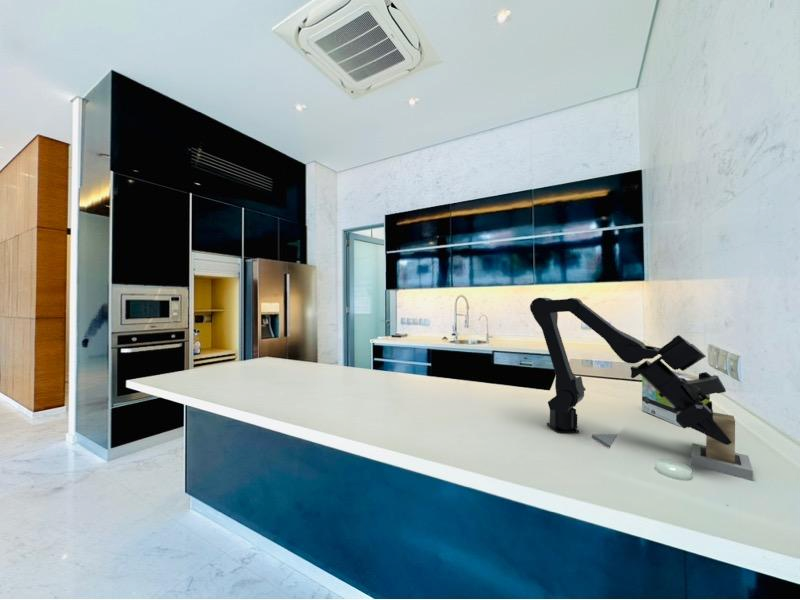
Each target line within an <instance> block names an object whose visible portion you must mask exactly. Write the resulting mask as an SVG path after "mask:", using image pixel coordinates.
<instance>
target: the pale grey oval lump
mask: <svg viewBox="0 0 800 600" xmlns="http://www.w3.org/2000/svg"><path fill="white" fill-rule="evenodd" d="M654 461H655V470H656V472H657V473H659V474H661V475H663V476H665V477H668V478H671V479H674V480H679V481H690V480H692V473H693V470H692V468H691V467H689V466H688V465H686V464H684V463H682V462H679V461H677V460H674V459H673V460H672V459H668V458H657V459H656V460H654Z"/></svg>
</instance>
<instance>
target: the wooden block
mask: <svg viewBox="0 0 800 600" xmlns="http://www.w3.org/2000/svg"><path fill="white" fill-rule="evenodd" d="M713 420H714V421H715V422H716V424H717V425H718V426H719V427H720V428H721V430H722V431H723V432H724V433H725V434H726V436H727V437H728V438H729V439H730V441H731V443H730V444H728V445H726V444H724V443H722V442H720V441H718V440H716V439H714V438H712V437H710V436H708V435H705V436H706V437H705V439H706V441H705V442H706V443H705V446H706V457H707V458H711V459H716V460H720V461H724V462H728V463H732V464H735V453H736V419H735V416H734V415H733V414H732V415H731V414H725V413H720V412H714V411H713Z"/></svg>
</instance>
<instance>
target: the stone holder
mask: <svg viewBox="0 0 800 600" xmlns="http://www.w3.org/2000/svg"><path fill="white" fill-rule="evenodd" d="M691 445H692V446H691V455H690V459H691V460H690V461H691V462H690V463H691V466H695V467H696V468H697V467H698V468H700V469H701V468H702V469H704V470H708V471H714V472H717V473H721V474H724V475H729V476H732V477H736V478H741V479H743V480H746V481H747V480H748V481H754V470H753V467H752V463H751V461H750V458H749V457H750V456H749V455H748V454H742V453H739V452H735V464H732V463H728V462H724V461H720V460H716V459H711V458H707V457H706V445H703V444H699V443H693V442H692V443H691Z"/></svg>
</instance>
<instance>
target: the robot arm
mask: <svg viewBox="0 0 800 600" xmlns="http://www.w3.org/2000/svg"><path fill="white" fill-rule="evenodd" d="M529 309H530V312H531V314H532V316H533V318H534V320H535V321H536V323H537V324H538V325H539V326H540V328H541V330H542V334H543V337H544V340H545V344H546V347H547V350H548V354H549V357H550V361H551V364H552V367H553V369H554V370H553V371H554V373H555V383H554V384H555V385H554V387H555V396H554V397H552V398H551V399H549V400H548V401H547V404H548V407H549V422H547V423H546V425H547V427H549V428H551V429H552V430H554V431H555V432H556V433H558V434H559V433H560V434H561V433H562V434H564V433H566V434H571V433H574V434H578V433H580V430H578V414H577V409H576V408H574V407H576V406H577V404H578V403H581V401H582V400H583V399H584V397H585V391H586V390H587V389H586V387H585V386H584V384H583V378H582V376H576V375H575V374H574V373H573V371H572V368H571V365H570V362H569V359H568V356H567V352H566V348H565V346H564V342H563V339H562V336H561V333H560V329H559V326H558V319H559V317H558V316H559V315H558V313H563V312H570V313H571V314H572V315H574V316H575V317H576V318H577V319H579V320H580V321H581V322H583V324H584V325H586V326H587V327H588V328H590V329H591V330H592V331H593V332H594V333H596V334H598V335H599V336H600V337H601V338H602V339H604V340H605V342H606V343H607V344H608V345H609V347H610V349H612V351H613V352H614V353H615V354H616V356H617V357H619V359H620V360H621V361H623V362H624V363H627V364H638V363H640V362H642V361H643V360H645V361H644V362H642V363H641V364H639V365H637V366H634V365H633V366H630V372H631V373H630V378H631V379H635V378H636V377H638V376H641V378H642V377H643V378H644V379H645V380H647V381H648V382H649V383H650V384H651V385H652V386H653V387H654V388H655V389H656V390H657V391H658V392H659V395H660V396H661V397H664V398H665V399H666V400H667V401H668V402H670V403H671V404H672V405H673V406H674V410H675V411H676V412H677V414H676V422H678V423H679V424H680V425H681V426H682V427H681V428H683V429H687V428H691V429H692V430H695V431H697V432H699V433H701V434H703V435H705V436H706V435H708V436H710V437H712V438H714V439H716V440H718V441H720V442H722V443H724V444H726V445H728V444H730V443H731V441H730V439H729V438H728V437H727V436H726V434H725V433H724V432H723V431H722V430H721V428H720V427H719V426H718V425H717V424H716V422H715V421H714V420H713V412H714V410H713V402H712V400H710V402H708V403H706V404H704V403H703V402H702V401H703V400H705V399H707V400H709V399H711V395H713V394H723V393H726V392H727V390H726V388H725V386H724V384H723V382H722V380H721V379H720V377H719V376H718V375H716V374H714V375H711V374H710V373H708V372H707V371H705V372H704V371H703V372H699V373H698V377H699V379H695V380H693V381H689V382H688V381H687V380H686V379H684V378H679V377H678V376H677V375H676V374H675V373H674V372H673V371H676V370H677V371H678V370H681V371H686V370H687V369H689V368H690V367H692V366H693V365H695V364H696V363H698V362H700V361H701V360H703V359H705V358H706V357H707V356H706V355H705V353H704V352H703V351H701V350H700V349H699V348H698V347H696V346H695V345H694V344H693V343H690V342H689V341H688V340H686V339H685V338H683V337H682V336H681V335H679V334H678V335H676V336H675V337H673V338H672V339H671V341H669V342H668V343H666V344H665V345H663V346H662V347H656V346H651V345H646V344H645V343H644V342H643V341H641V340H639V339H638V338H636V337H634V336H632V335H631V334H628V333H626V332H623V331H622V330H620V329H618V328H616V327H615V326H614V325H612V324H611V323H610V322H608V321H607V320H606V319H604V318H603V317H602V316H601V315H599V313H596V312H595V311H594V310H593V309H591V308H590V307H588V305H586V304H585V303H583V301H582V300H581V299H580V298H577V297H570V298H564V299H551V298H550V297H549V298H548V297H537V298H534V299H533V300H532V301H531V303H530V304H529ZM659 355H660V356H659ZM657 356H659V357H657ZM655 357H657V359H655V360H653V361H652V362H651V361H649V360H650V359H654V358H655ZM663 361H664V362H663ZM667 365H668V366H669V367H668V366H667ZM671 369H672V370H671ZM708 394H710V396H709V395H708Z"/></svg>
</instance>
